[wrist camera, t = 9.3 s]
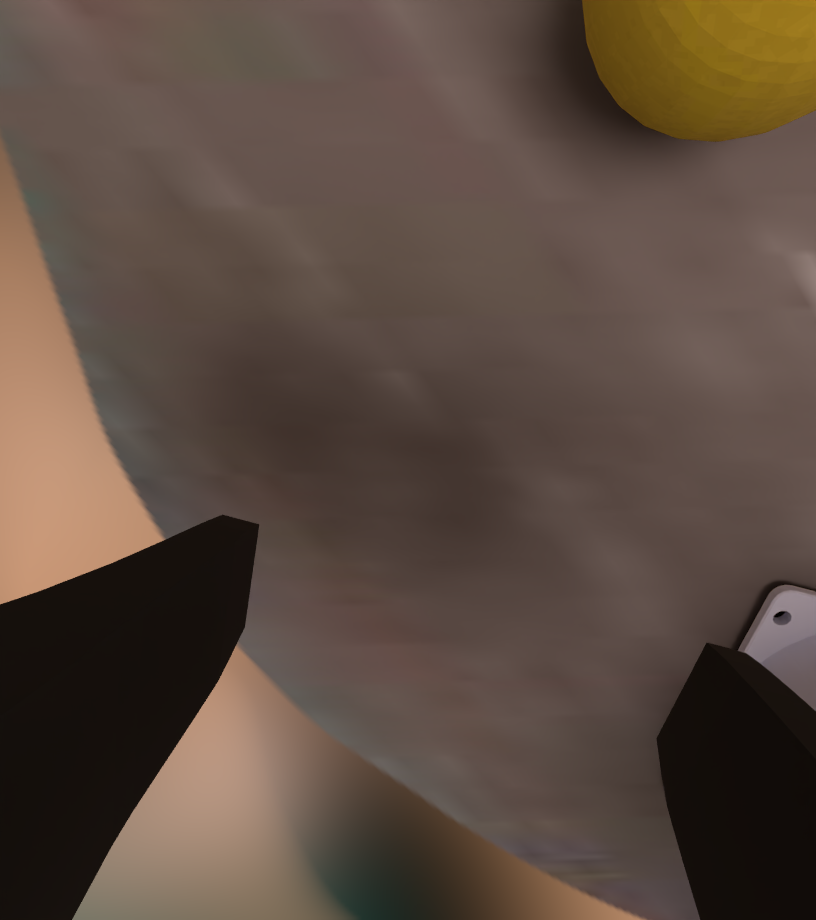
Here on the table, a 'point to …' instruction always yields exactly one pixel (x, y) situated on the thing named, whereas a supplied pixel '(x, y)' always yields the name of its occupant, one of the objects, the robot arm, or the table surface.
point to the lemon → (706, 63)
